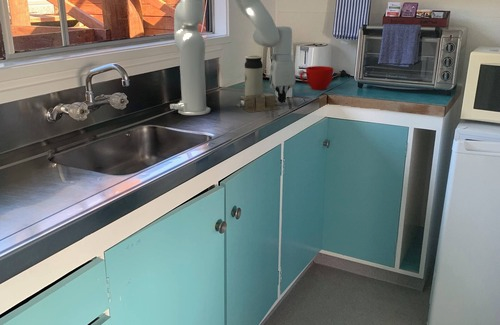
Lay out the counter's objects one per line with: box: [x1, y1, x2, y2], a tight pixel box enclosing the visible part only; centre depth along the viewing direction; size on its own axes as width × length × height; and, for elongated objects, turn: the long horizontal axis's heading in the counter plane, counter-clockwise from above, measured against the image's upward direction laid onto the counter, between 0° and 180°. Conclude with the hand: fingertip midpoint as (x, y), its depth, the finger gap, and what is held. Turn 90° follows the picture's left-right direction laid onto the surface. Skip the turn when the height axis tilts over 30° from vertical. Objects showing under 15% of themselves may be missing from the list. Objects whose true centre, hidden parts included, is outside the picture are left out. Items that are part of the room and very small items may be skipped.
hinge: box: [235, 92, 281, 114], centre depth 206 cm, size 14×13×5 cm
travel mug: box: [244, 54, 264, 96], centre depth 225 cm, size 8×8×18 cm
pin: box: [239, 96, 279, 106], centre depth 206 cm, size 16×3×3 cm, turn 115°
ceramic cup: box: [299, 65, 334, 91], centre depth 242 cm, size 13×17×10 cm
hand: (281, 102), depth 211 cm, fingers closed
